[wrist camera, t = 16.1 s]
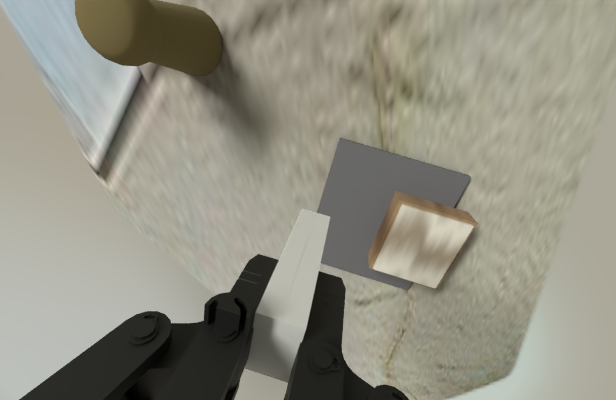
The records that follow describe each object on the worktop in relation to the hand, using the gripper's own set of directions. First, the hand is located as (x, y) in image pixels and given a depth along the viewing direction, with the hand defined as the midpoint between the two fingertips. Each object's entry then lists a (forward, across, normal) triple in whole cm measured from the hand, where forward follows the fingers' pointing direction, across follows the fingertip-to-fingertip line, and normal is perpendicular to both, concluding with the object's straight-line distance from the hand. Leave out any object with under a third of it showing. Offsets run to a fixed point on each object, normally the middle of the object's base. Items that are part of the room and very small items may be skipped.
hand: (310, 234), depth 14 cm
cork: (+17, -17, +7) cm, 25 cm away
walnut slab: (+15, +7, -7) cm, 18 cm away
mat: (+17, +7, -7) cm, 19 cm away
